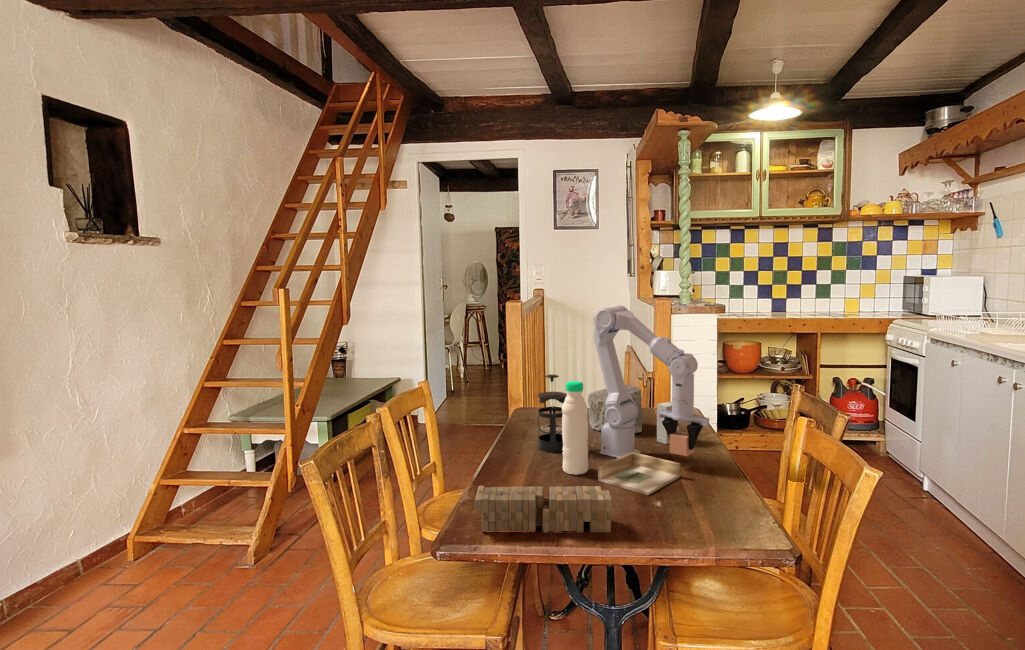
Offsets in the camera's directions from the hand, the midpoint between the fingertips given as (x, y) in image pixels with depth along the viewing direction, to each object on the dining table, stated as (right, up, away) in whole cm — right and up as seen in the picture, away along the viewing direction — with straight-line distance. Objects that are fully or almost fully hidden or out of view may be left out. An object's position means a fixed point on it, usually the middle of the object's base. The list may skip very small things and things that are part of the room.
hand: (682, 446), depth 166 cm
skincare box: (+2, -3, +25) cm, 25 cm away
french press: (-34, -5, +21) cm, 40 cm away
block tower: (-40, -11, -33) cm, 53 cm away
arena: (-13, -7, -7) cm, 17 cm away
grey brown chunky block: (-11, -2, +40) cm, 42 cm away
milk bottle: (-29, -7, 0) cm, 30 cm away
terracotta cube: (0, -2, 0) cm, 2 cm away
